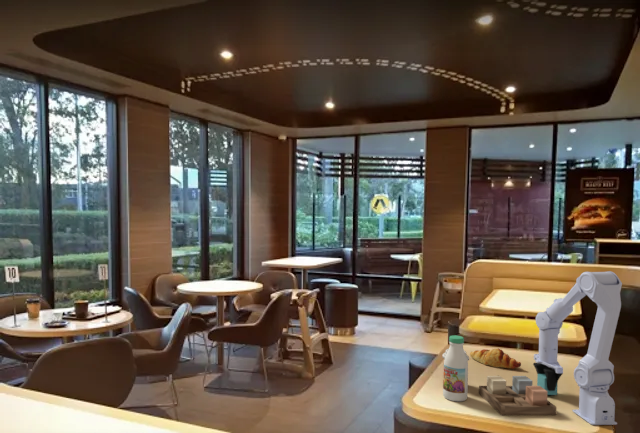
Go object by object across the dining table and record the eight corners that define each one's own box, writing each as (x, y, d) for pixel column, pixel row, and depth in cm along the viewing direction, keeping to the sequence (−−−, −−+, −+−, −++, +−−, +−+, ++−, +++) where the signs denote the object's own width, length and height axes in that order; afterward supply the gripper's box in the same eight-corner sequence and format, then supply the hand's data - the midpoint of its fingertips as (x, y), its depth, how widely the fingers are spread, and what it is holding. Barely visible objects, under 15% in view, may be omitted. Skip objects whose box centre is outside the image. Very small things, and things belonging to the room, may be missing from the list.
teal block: (557, 394, 156) (557, 378, 156) (544, 394, 155) (544, 378, 155) (549, 389, 160) (550, 373, 160) (537, 389, 160) (537, 373, 160)
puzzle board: (556, 415, 141) (556, 393, 141) (501, 415, 140) (502, 393, 140) (527, 393, 158) (528, 374, 158) (478, 393, 157) (479, 373, 157)
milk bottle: (448, 391, 158) (450, 332, 158) (470, 397, 153) (472, 336, 153) (438, 397, 152) (440, 336, 152) (461, 404, 147) (463, 341, 147)
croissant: (466, 367, 194) (462, 352, 191) (476, 352, 200) (472, 337, 197) (518, 380, 179) (514, 364, 176) (526, 362, 185) (523, 347, 183)
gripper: (525, 341, 165) (524, 379, 165) (548, 354, 150) (547, 395, 150) (545, 341, 165) (544, 379, 165) (569, 354, 151) (568, 395, 151)
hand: (547, 387), depth 158 cm, fingers closed on teal block, 4 cm apart
